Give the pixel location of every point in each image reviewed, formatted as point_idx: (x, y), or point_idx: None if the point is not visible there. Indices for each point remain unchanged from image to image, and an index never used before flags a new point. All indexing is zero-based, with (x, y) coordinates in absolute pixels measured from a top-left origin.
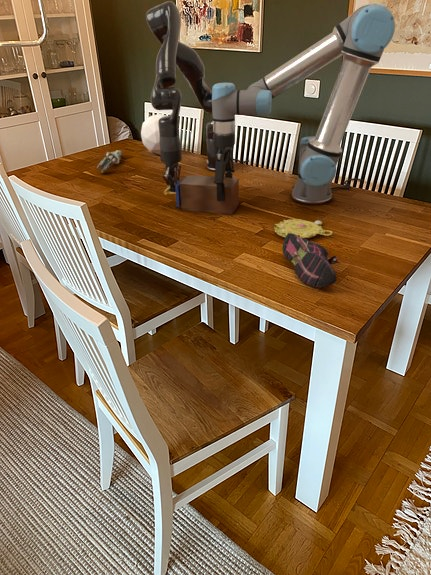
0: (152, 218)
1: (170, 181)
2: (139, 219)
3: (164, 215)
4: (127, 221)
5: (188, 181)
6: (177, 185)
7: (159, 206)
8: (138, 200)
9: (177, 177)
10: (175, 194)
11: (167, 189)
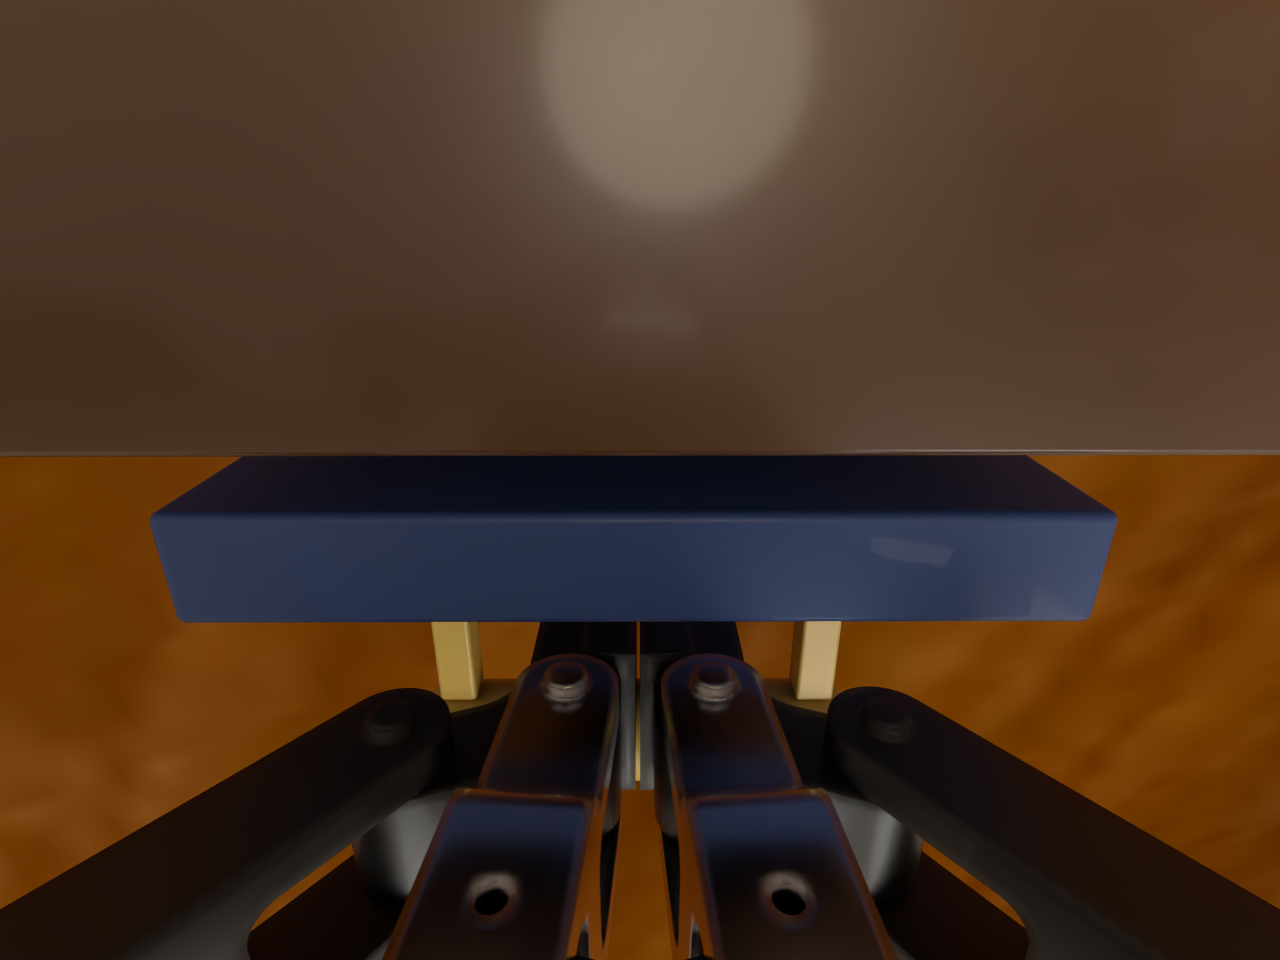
0: (1200, 605)
1: (1156, 868)
2: (1222, 736)
3: (1094, 487)
4: (1272, 829)
5: (993, 88)
6: (1101, 539)
7: (760, 667)
8: (616, 939)
9: (395, 794)
10: None
11: None
